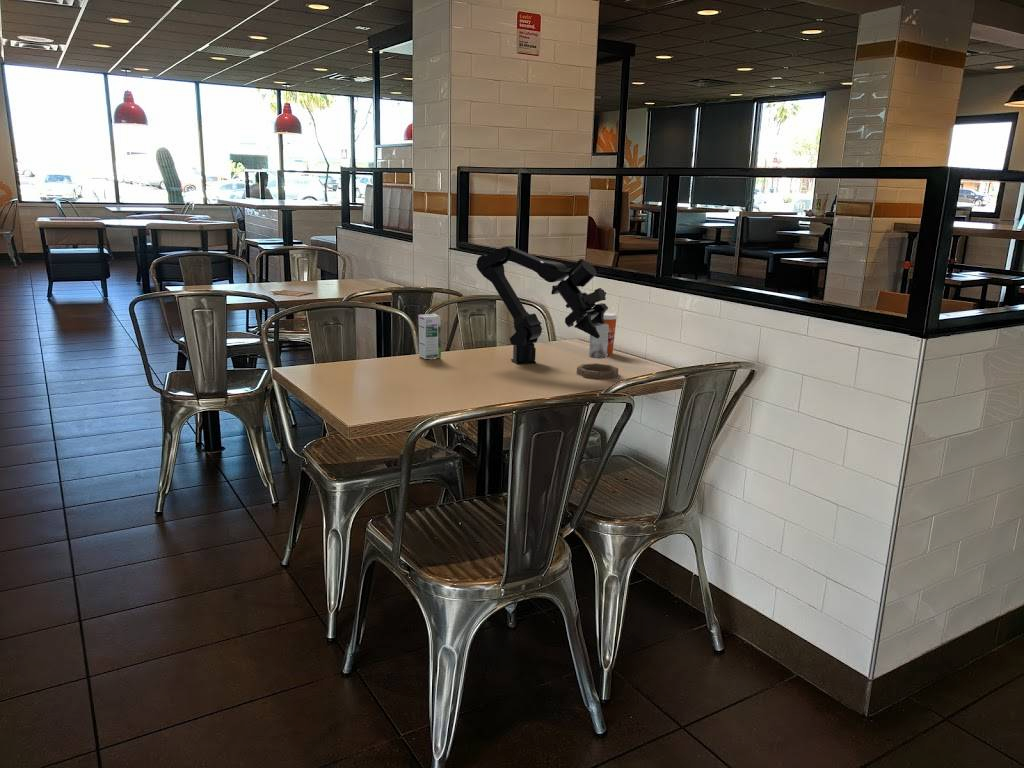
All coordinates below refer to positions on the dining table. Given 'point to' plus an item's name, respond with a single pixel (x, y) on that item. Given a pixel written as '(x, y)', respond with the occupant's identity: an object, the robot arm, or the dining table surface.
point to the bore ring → (604, 369)
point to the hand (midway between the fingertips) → (603, 336)
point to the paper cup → (610, 330)
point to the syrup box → (430, 336)
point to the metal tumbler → (599, 342)
